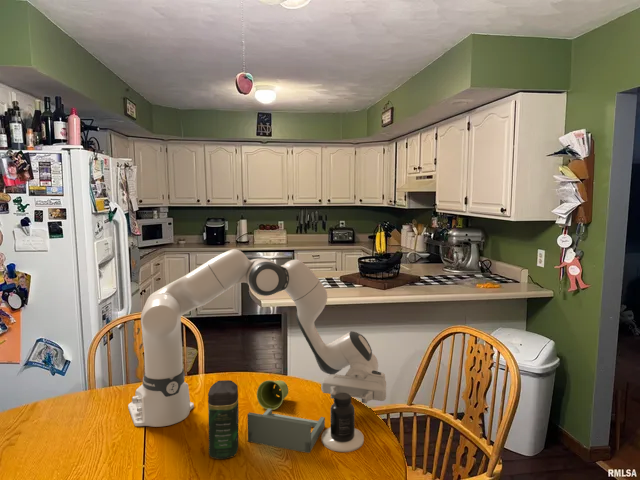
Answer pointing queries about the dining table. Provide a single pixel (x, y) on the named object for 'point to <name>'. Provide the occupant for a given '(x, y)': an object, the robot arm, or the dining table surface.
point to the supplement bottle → (342, 418)
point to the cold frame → (284, 431)
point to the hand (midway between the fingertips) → (348, 398)
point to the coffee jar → (223, 419)
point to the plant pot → (271, 394)
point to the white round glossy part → (342, 446)
